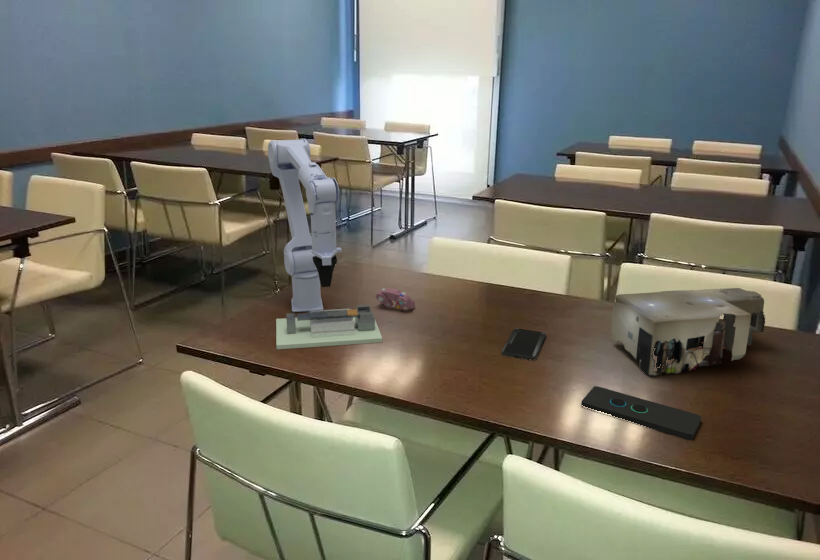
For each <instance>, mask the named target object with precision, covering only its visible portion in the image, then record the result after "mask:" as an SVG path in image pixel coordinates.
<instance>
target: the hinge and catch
mask: <svg viewBox="0 0 820 560" xmlns="http://www.w3.org/2000/svg"><path fill="white" fill-rule="evenodd" d="M356 309H357V310H366V311H367V312H366V313H360V317H355V323H356V326H357V329H358V331H372V330H375V321H376V318H375V315H374V312H373V310H372V308H371V306H370V304H359V305H358V304H357V305H356ZM285 316H286V317H285V318H286V319H287V334H296V324H295V318H296V312H291V313H285Z"/></svg>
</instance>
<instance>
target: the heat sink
mask: <svg viewBox="0 0 820 560" xmlns="http://www.w3.org/2000/svg"><path fill="white" fill-rule="evenodd" d="M347 310H352V309H351V308H340V309H339V308H338V309H336V308H335V309H323V310H316V311H308V313H317V312H335V311H347ZM310 328H311V336H312V338H314V337H330V336H345V335H355V325H354V321H353V317H351V318H335V319H318V320H310Z"/></svg>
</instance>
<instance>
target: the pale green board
mask: <svg viewBox="0 0 820 560" xmlns="http://www.w3.org/2000/svg"><path fill="white" fill-rule="evenodd" d="M275 321H276V322H275V323H276V324H275V326H276V327H275V328H276V329H275V330H276V332H275V335H276V337H275V338H276V341H275V342H276V343H275V344H276V350H287V349H290V350H291V349H303V348H315V347H316V348H319V347H333V346H345V345H346V346H347V345H361V344H362V345H363V344H374V343H375V344H376V343H377V344H378V343H383V337H382V334H381V331H380V329H379V326H378V324H377V321H376V320H375V330H372V331H358V329H357V326H356V323H355V317H353V321H354V325H355V335H345V336H330V337H314V338H312V336H311V328H310V320H302V321H297V317H295V324H296V334H287V319H286V317H285V318H276V319H275Z"/></svg>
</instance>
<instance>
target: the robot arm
mask: <svg viewBox="0 0 820 560" xmlns="http://www.w3.org/2000/svg"><path fill="white" fill-rule="evenodd" d="M267 157H268V161H269V163H268V164H269V166H270V170H271V174H272V176H274V177H275V178H278V180H279V184H280V186H281V187H280V188H281V191H282V196H283V200H284V201H283V202H284V206H285V212H286V216H287V220H288V225H289V231H290V234H291V235H290V236H291V239H290V240H289V242H287V244H285V246H284V249H283V256H284V257H283V259H284V260H283V263H284V267H285V272H286V273H287V274H288V275H289V276H291V281H292V282H291V285H292V286H291V288H292V298H291V299H290V301H291V311H292V312H291V313H297V312H298V313H299V312H300V313H301V312H309V311H316V310H324V306H323V300H322V297H321V296H322V295H321V288H330V287H331V286H332V285H331V284H332V280H333V273H334V271H335V270H334V269H335V267H336V265H337V263H338V259H337V253H342V250H343V249H342V247H337V224H336V223H337V217H336V216H337V215H336V204H337V203H338V202H339V200H340V199H339V198H340V189H339V184H338V182H337V180H336V178H335V177H328V176H327V175H326V174H325V172H324V171H323V170H322V168H321V167H320V165H319V164H317V163H316V162H312V160H311V146H310V143H309V141H307V139H306V138H302V139H282V140H281V139H280V140H279V139H278V140H274V139H271V140H270V141H269V142H268V146H267ZM300 183H301V184H302V186H303V187H304V190H305V196H306V200H307V207H308V212H309V213H310V227H309V222H308V217H307V214H306V209H305V204H304V199H303V194H302V189H301V185H300ZM310 229H311V230H310ZM310 231H311V232H310Z"/></svg>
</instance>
